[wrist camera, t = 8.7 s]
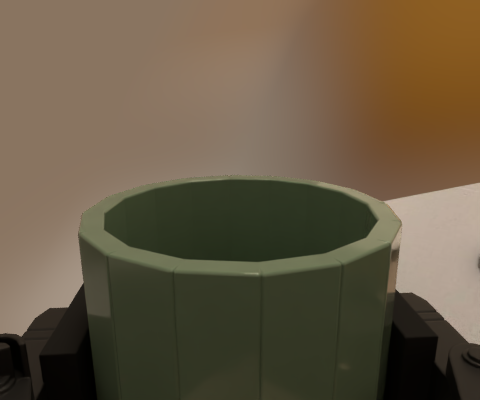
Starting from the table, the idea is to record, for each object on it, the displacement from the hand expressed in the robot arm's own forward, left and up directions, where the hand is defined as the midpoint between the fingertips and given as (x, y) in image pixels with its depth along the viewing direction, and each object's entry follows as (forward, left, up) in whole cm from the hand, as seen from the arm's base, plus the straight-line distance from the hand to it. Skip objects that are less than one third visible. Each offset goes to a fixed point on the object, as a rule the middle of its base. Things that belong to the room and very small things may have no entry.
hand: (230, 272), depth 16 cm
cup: (+4, -3, -6) cm, 8 cm away
